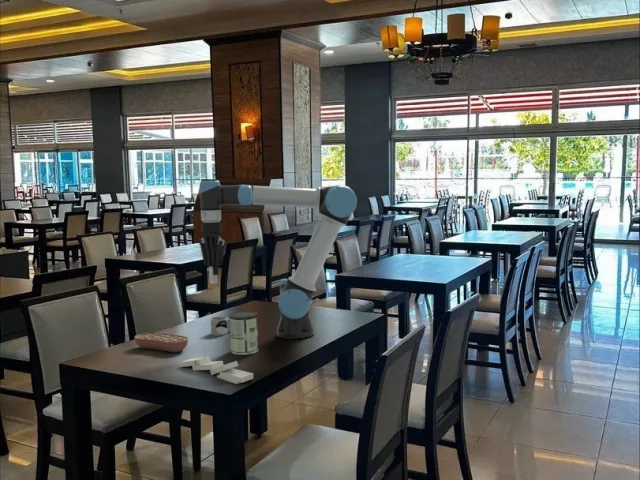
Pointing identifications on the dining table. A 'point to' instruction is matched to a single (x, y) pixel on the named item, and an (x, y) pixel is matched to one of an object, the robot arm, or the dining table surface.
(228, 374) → the domino
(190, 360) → the domino
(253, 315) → the coffee can
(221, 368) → the domino
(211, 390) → the dining table surface
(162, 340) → the brown low oblong piece
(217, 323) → the mug
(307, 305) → the robot arm
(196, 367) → the domino
